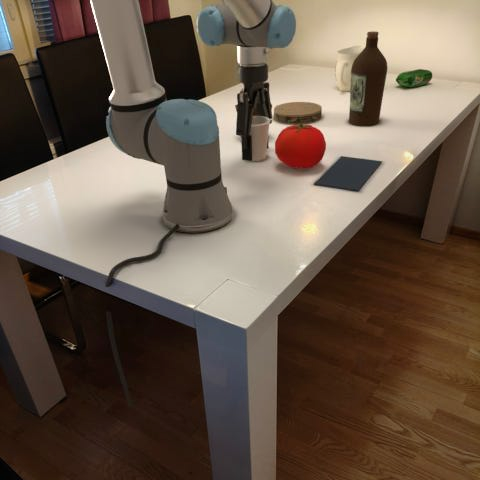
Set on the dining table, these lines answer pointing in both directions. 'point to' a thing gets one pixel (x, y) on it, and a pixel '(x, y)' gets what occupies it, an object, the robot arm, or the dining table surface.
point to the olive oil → (367, 83)
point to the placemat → (348, 173)
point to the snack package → (414, 78)
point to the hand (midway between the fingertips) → (255, 153)
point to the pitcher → (346, 66)
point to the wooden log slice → (297, 113)
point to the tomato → (300, 146)
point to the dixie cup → (259, 137)
